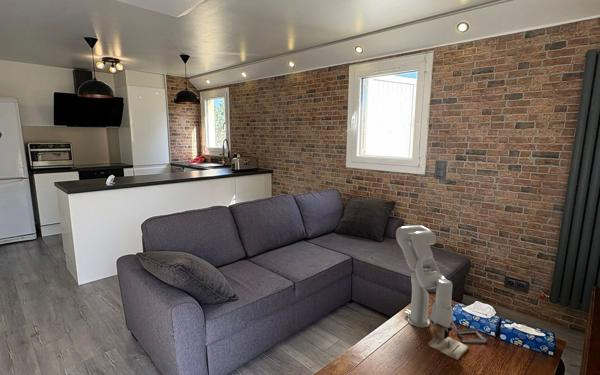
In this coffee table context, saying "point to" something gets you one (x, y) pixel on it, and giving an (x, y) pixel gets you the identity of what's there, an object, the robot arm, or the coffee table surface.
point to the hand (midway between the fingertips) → (440, 334)
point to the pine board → (449, 347)
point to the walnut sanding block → (439, 332)
